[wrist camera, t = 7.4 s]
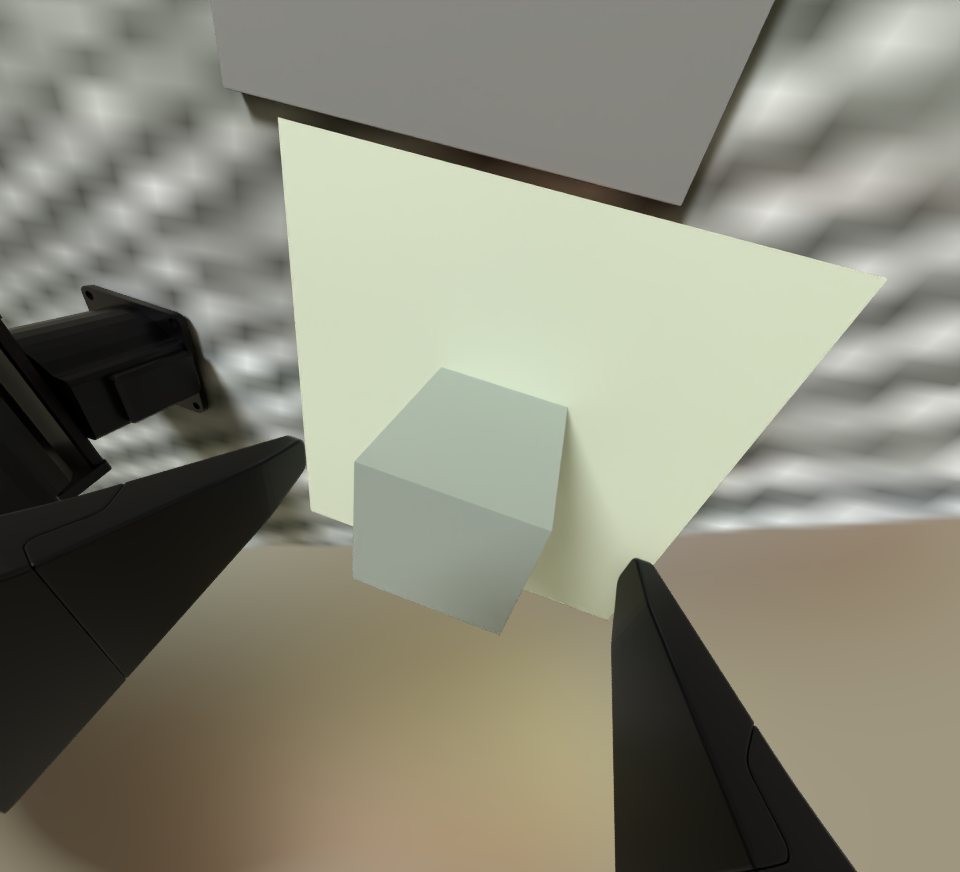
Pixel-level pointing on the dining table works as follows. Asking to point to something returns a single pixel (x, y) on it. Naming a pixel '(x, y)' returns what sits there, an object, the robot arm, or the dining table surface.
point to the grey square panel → (509, 76)
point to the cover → (527, 371)
